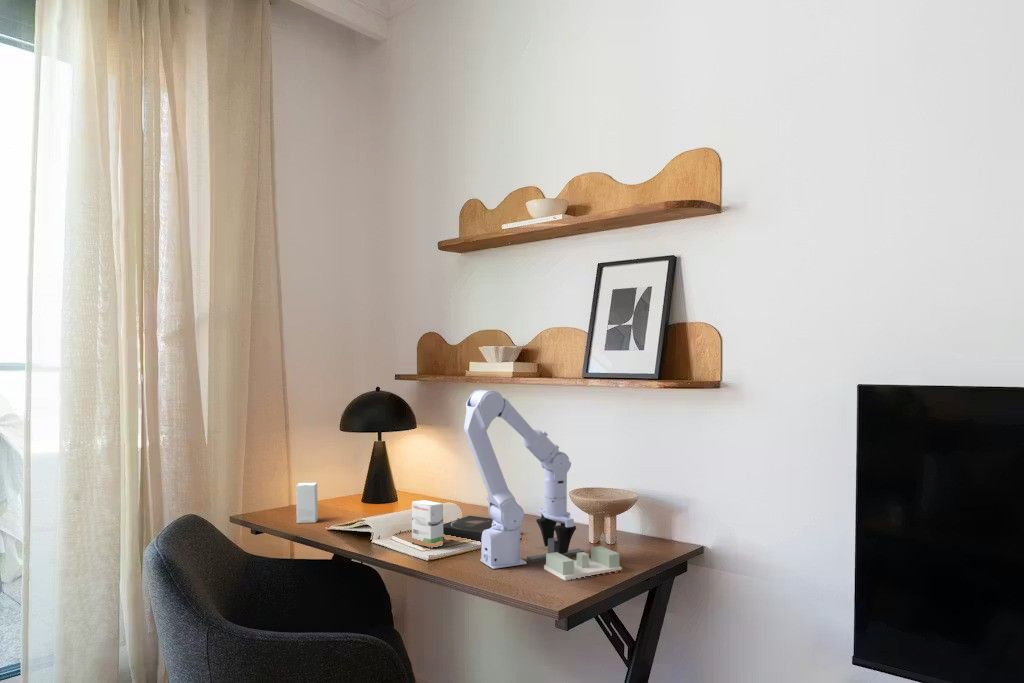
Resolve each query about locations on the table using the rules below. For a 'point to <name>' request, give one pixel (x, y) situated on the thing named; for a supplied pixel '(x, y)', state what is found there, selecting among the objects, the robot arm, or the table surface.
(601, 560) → the stand
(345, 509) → the table surface
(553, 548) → the grey inverted t block
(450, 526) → the portable cd player
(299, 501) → the skincare box
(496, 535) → the robot arm
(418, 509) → the ink box
